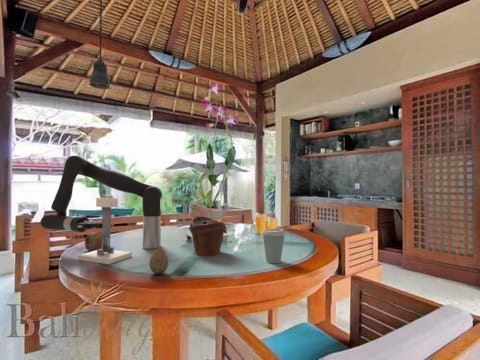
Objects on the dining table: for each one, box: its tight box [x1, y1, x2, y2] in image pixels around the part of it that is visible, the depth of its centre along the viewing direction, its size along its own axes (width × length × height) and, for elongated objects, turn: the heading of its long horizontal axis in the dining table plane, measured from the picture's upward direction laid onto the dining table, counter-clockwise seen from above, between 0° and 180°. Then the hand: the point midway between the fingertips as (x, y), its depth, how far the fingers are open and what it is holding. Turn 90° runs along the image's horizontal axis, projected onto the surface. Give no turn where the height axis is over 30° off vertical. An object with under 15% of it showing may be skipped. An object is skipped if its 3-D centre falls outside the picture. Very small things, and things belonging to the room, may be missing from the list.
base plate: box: [77, 246, 132, 265], centre depth 131 cm, size 18×14×4 cm
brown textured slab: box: [84, 231, 102, 251], centre depth 148 cm, size 15×3×8 cm, turn 179°
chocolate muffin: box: [188, 216, 228, 257], centre depth 144 cm, size 18×20×18 cm
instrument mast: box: [95, 194, 119, 253], centre depth 131 cm, size 8×5×26 cm, turn 70°
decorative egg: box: [149, 247, 169, 275], centre depth 110 cm, size 7×7×10 cm
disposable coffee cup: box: [261, 227, 286, 264], centre depth 130 cm, size 11×11×15 cm
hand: (103, 225), depth 131 cm, fingers closed
